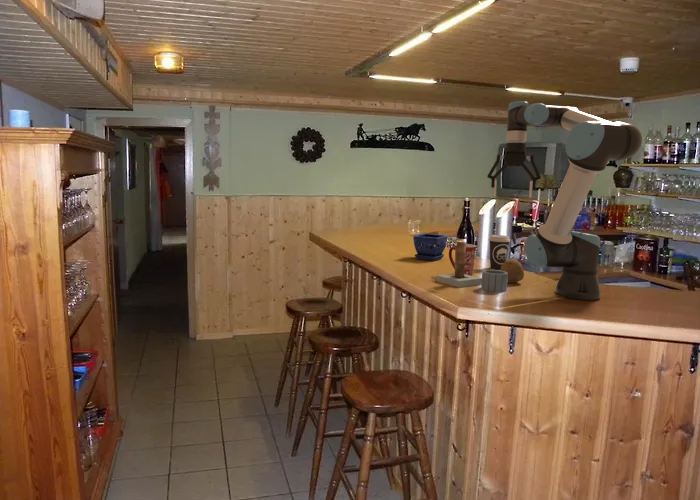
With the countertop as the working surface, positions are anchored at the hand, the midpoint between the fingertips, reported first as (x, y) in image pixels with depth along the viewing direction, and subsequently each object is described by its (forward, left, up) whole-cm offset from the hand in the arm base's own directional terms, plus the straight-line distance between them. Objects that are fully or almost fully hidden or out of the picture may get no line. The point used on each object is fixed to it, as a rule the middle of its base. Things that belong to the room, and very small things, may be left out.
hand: (512, 196), depth 216 cm
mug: (+16, +10, -34) cm, 39 cm away
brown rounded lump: (-4, +2, -34) cm, 35 cm away
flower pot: (+56, -9, -34) cm, 66 cm away
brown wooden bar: (+4, +23, -34) cm, 41 cm away
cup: (-10, +19, -34) cm, 40 cm away
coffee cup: (+22, -20, -34) cm, 45 cm away
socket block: (+4, +23, -34) cm, 41 cm away
